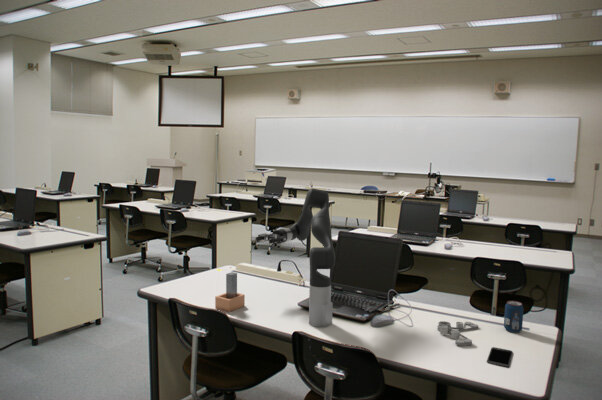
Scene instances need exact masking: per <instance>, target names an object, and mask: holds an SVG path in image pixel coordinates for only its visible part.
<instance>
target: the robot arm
mask: <svg viewBox="0 0 602 400" xmlns="http://www.w3.org/2000/svg"><path fill="white" fill-rule="evenodd" d="M304 199H305V200H304V203H303V206H302V210H301V213H300V216H299V218H298V220H297V222H295V223H294V224H292V225H291V226H289V227H283V228H279V229H274V230H273V231H272V232H271V233H268V234H267V233H266V232H265V233H261V234H257V236H256V237H255V241H256V242H261V241H264V242H268V243H269V244H276V245H280V244H284V243H288V242H290V241H293V240H296V239H297V240H298V241H300V242H303V241H305V240H307V238H308V237H309V235H310V231H311V234H312V236H313V237H314V238H315V239H316V240H317V241H318V242H319V244H321V245H322V247H319V246H318V247H316V246H315V247H311V249H310V250H309V290H308V291H309V292H308V293H309V295H308V299H309V300H308V306H309V307H308V311H309V312H308V324H309V325H310V326H312V327H316V328H326V327H328V326H330V325H331V324H333V305H334V303H333V301H332V299H331V298H332V297H331V296H332V278H331V277H329V276H328V275H325V274H322V273H321V272H320V271H318V270H331V269H333V268H335V265H336V254H335V249H334V248H335V247H334V244H333V237H332V224H331V218H330V217H331V216H330V197H329V193H328V191H326V190H322V189H319V188H314V187H313V188H310V189H308V191H307V193H306V196H305V198H304ZM311 207H312V208H316V209H320V210H319V211H317V212H316V213H315V214H314V215H313V212H312V210H311Z"/></svg>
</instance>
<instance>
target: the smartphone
mask: <svg viewBox="0 0 602 400" xmlns="http://www.w3.org/2000/svg"><path fill="white" fill-rule="evenodd" d="M512 357H513V350H510V349H507V348H506V349H505V348H500V347H495V346H493V347H491V348H490V351H489V353H488V357H487V360H486V363H487V364H489V365H493V366H497V367H500V368H501V367H502V368H504V369H505V368H506V369H509V368H510V365H511V361H512Z"/></svg>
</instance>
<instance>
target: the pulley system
mask: <svg viewBox="0 0 602 400" xmlns="http://www.w3.org/2000/svg"><path fill="white" fill-rule="evenodd" d="M455 326H456V327H455ZM455 326H454V327H452V325H451V322H449V321H439V322H438V323H437V331H438V332H440V334H442V335H449V336H451V337H450V338H451V339H452V340H453V339H454V340H455V341H454V342H455V343H454V344H455V345H456V346H458V347H461V346H466V345H473V340H472V339H470V338H468V337H467V336H465V335H463V334H461V332H467V331H472V330H478V329H479V325H478V324H475V323H473V322H471V321H465V322H462V321H456V323H455ZM465 326H468V328H465ZM460 337H461V338H463V340H462V339H460Z"/></svg>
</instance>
